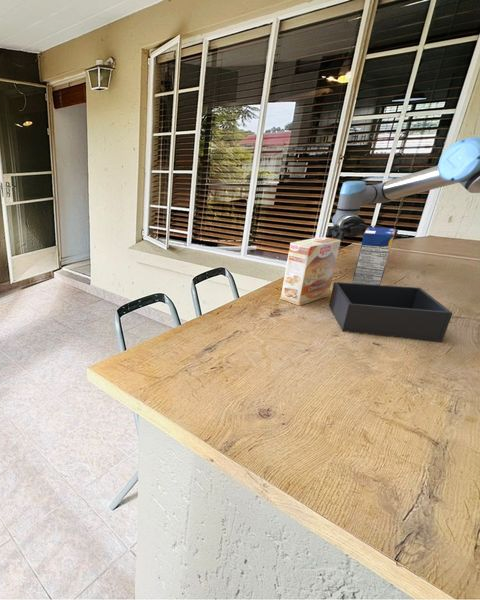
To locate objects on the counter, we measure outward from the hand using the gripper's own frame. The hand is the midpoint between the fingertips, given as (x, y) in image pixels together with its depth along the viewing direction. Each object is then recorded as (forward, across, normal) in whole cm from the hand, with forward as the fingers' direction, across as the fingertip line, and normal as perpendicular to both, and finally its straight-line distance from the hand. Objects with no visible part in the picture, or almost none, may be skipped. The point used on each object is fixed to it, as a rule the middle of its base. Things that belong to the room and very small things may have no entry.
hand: (367, 237), depth 117 cm
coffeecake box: (+16, +17, -18) cm, 29 cm away
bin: (+30, +1, -18) cm, 35 cm away
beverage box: (+10, 0, -18) cm, 21 cm away
